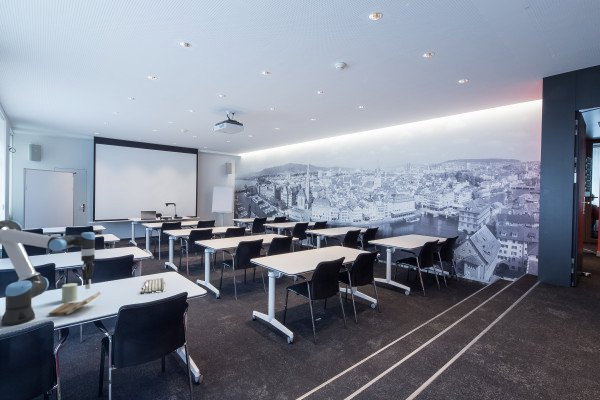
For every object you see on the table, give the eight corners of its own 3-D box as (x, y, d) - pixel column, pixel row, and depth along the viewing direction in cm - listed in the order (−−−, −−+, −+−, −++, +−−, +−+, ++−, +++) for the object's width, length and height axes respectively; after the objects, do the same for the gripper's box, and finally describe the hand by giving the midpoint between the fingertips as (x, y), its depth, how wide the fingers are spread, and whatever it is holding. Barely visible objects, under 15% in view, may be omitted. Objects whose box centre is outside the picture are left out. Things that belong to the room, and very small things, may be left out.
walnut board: (48, 316, 188) (49, 312, 188) (65, 305, 206) (65, 302, 206) (64, 315, 190) (64, 311, 190) (79, 305, 208) (79, 301, 208)
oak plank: (66, 314, 190) (65, 312, 190) (81, 304, 208) (80, 302, 208) (87, 303, 193) (86, 300, 192) (100, 294, 210) (99, 291, 210)
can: (59, 302, 211) (59, 286, 211) (65, 298, 220) (65, 282, 220) (73, 301, 214) (74, 285, 214) (79, 297, 223) (79, 282, 223)
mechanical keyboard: (142, 282, 266) (142, 278, 266) (165, 280, 275) (165, 277, 275) (140, 295, 233) (140, 291, 233) (166, 292, 241) (166, 288, 241)
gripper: (89, 256, 195) (89, 291, 195) (98, 252, 207) (98, 285, 208) (76, 256, 193) (76, 292, 193) (86, 253, 206) (86, 286, 206)
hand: (87, 288), depth 201 cm, fingers closed
